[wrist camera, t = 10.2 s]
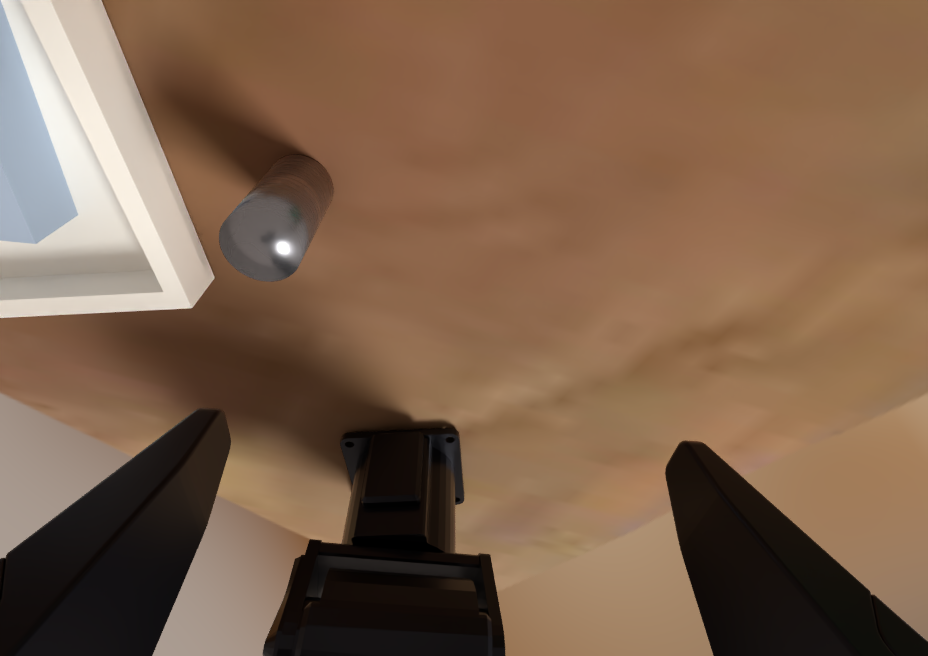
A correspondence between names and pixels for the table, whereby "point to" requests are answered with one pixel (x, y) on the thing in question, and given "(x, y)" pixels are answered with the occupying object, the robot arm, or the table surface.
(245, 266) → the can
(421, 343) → the table surface
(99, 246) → the tray
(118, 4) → the table surface
